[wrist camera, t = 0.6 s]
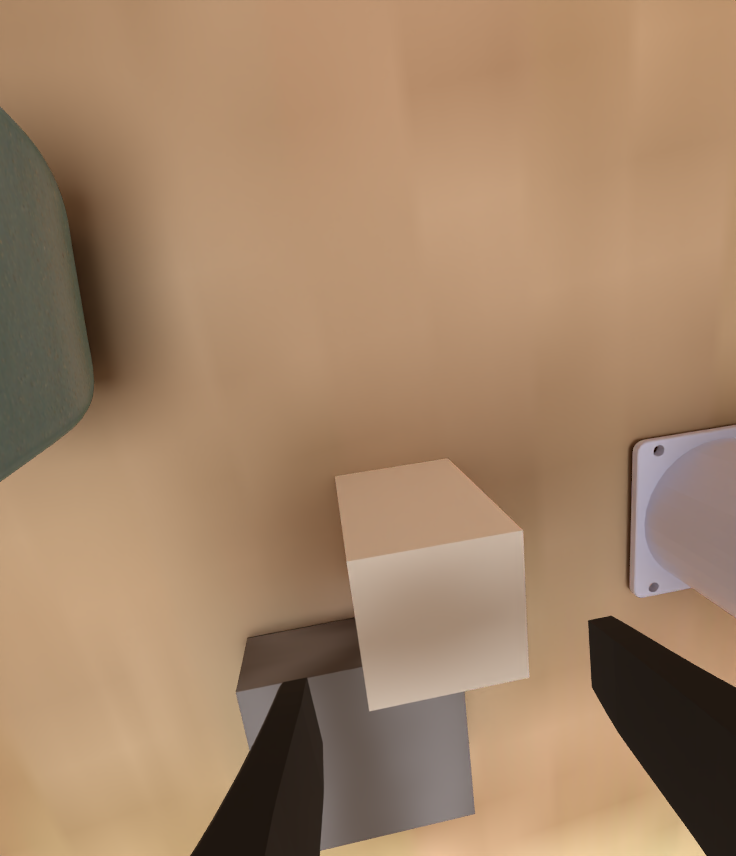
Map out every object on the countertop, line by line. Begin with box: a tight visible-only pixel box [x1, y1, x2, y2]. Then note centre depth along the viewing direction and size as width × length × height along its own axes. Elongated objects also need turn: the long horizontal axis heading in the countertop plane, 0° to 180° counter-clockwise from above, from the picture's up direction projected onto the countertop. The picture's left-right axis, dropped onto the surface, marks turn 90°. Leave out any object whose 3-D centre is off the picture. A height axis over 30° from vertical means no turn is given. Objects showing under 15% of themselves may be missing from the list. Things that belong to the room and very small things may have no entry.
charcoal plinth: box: [236, 618, 475, 851], centre depth 19 cm, size 9×9×3 cm
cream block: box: [335, 458, 529, 711], centre depth 16 cm, size 5×5×7 cm
